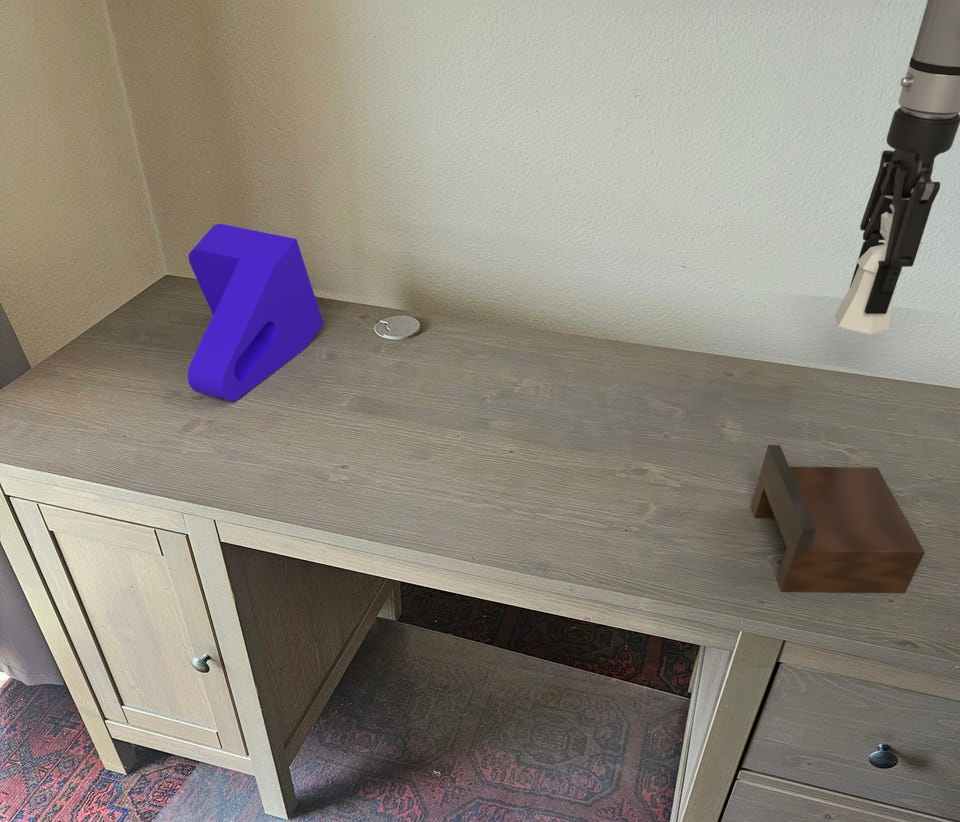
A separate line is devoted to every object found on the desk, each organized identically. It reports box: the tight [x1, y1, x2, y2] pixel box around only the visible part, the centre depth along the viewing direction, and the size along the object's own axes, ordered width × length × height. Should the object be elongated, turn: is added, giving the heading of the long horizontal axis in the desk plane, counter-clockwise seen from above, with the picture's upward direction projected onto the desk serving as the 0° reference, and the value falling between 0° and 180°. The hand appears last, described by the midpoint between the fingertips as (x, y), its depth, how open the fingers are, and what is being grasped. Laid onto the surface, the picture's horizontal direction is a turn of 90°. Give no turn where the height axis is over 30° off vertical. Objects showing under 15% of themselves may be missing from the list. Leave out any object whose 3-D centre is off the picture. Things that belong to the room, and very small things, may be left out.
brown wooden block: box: [750, 444, 926, 594], centre depth 99 cm, size 14×16×9 cm
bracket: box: [187, 223, 324, 402], centre depth 129 cm, size 25×15×16 cm
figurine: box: [834, 196, 922, 335], centre depth 114 cm, size 7×8×18 cm
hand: (867, 301), depth 119 cm, fingers closed on figurine, 6 cm apart
